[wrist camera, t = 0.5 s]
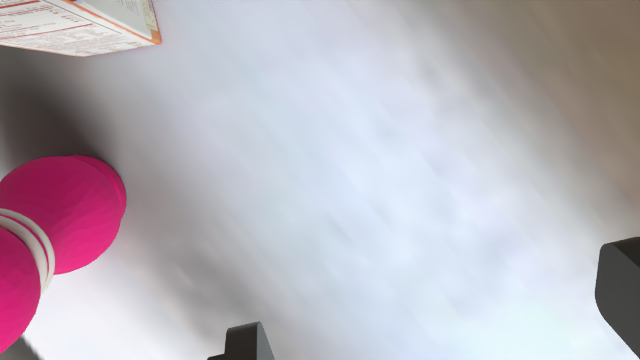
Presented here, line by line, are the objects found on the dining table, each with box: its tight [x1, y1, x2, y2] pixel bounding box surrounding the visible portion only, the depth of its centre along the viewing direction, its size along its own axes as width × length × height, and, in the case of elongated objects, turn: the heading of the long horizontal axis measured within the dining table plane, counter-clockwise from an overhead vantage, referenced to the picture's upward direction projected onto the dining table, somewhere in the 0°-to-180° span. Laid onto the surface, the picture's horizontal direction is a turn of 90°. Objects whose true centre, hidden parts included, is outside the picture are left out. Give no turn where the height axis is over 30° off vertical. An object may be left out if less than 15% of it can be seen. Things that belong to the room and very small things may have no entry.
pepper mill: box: [0, 155, 126, 354], centre depth 23 cm, size 7×7×20 cm
